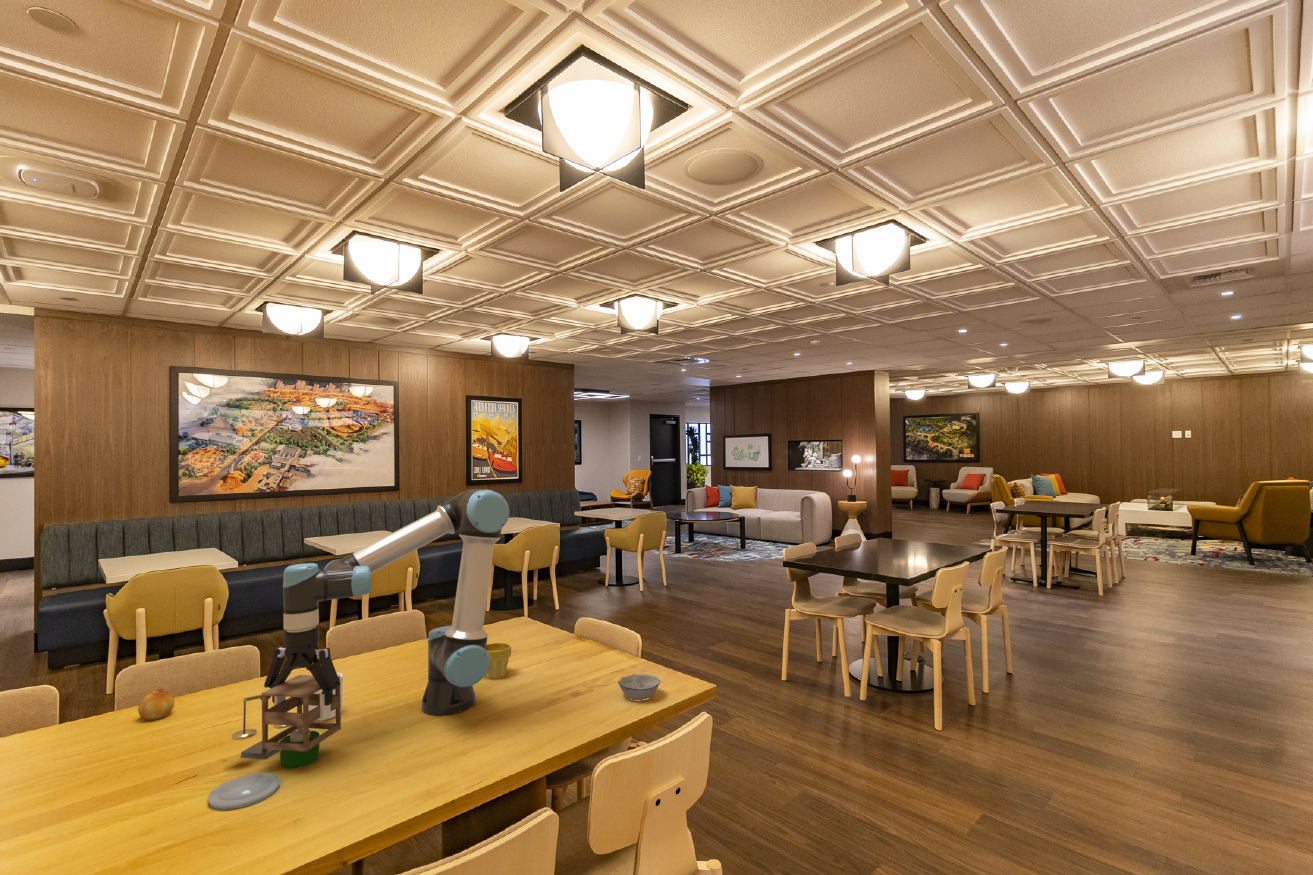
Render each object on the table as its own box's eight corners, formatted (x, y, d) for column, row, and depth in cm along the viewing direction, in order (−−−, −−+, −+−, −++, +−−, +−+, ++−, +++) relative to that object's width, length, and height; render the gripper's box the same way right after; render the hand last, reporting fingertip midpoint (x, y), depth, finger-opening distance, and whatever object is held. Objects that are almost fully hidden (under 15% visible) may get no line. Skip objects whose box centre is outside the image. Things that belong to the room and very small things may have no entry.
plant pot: (517, 673, 208) (517, 644, 209) (494, 683, 200) (494, 652, 200) (496, 668, 214) (496, 640, 214) (473, 677, 205) (473, 647, 206)
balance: (303, 736, 162) (303, 676, 162) (247, 769, 144) (248, 702, 145) (280, 734, 163) (280, 675, 164) (222, 767, 145) (223, 701, 146)
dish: (293, 780, 139) (293, 774, 139) (246, 812, 126) (246, 806, 126) (243, 775, 141) (244, 770, 142) (192, 807, 129) (192, 800, 129)
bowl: (614, 703, 182) (614, 687, 182) (623, 688, 194) (622, 672, 195) (657, 705, 180) (657, 688, 180) (663, 689, 193) (663, 674, 193)
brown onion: (178, 709, 175) (173, 682, 178) (141, 720, 169) (137, 692, 172) (175, 717, 180) (170, 690, 182) (139, 728, 174) (135, 701, 177)
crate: (340, 728, 154) (340, 676, 154) (306, 751, 142) (305, 694, 143) (299, 726, 156) (298, 674, 156) (262, 748, 144) (261, 692, 145)
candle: (291, 772, 143) (291, 729, 143) (273, 763, 147) (273, 721, 148) (326, 757, 150) (326, 716, 150) (307, 749, 154) (308, 709, 155)
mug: (307, 728, 167) (307, 688, 167) (308, 712, 177) (309, 675, 178) (342, 721, 171) (342, 682, 171) (341, 706, 182) (342, 670, 182)
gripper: (355, 624, 152) (356, 712, 151) (270, 622, 156) (271, 708, 155) (334, 633, 144) (336, 726, 143) (246, 631, 148) (247, 721, 148)
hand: (302, 717), depth 149 cm, fingers closed on crate, 12 cm apart
